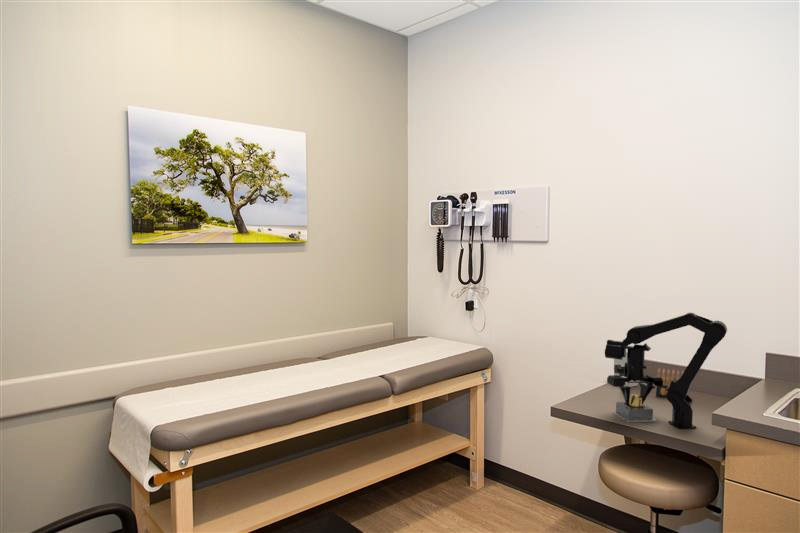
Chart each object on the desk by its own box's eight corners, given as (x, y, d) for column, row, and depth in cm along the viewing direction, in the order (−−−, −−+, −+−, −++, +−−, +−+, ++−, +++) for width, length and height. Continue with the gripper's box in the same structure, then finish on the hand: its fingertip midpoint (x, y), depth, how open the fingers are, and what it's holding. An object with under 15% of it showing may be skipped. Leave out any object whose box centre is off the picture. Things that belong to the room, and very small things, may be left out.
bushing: (642, 416, 191) (644, 398, 190) (631, 416, 190) (634, 397, 190) (636, 413, 195) (638, 394, 194) (625, 412, 194) (628, 393, 194)
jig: (656, 421, 188) (657, 409, 188) (627, 422, 187) (627, 410, 186) (639, 411, 199) (640, 400, 198) (611, 412, 198) (612, 401, 197)
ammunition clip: (655, 396, 219) (656, 368, 218) (655, 395, 220) (656, 367, 220) (684, 400, 214) (686, 371, 213) (684, 399, 216) (685, 370, 215)
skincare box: (638, 385, 235) (639, 351, 235) (628, 387, 232) (629, 352, 231) (621, 381, 243) (622, 347, 242) (612, 383, 239) (613, 349, 239)
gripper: (647, 356, 201) (646, 397, 201) (600, 357, 199) (599, 397, 200) (665, 363, 190) (663, 406, 190) (615, 363, 188) (614, 407, 188)
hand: (634, 403), depth 192 cm, fingers open, 5 cm apart
